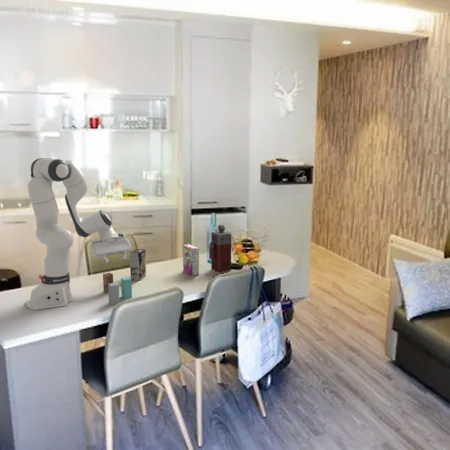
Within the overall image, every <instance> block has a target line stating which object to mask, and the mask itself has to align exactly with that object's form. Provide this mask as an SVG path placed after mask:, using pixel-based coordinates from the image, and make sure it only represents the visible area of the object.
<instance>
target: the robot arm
mask: <svg viewBox="0 0 450 450" xmlns="http://www.w3.org/2000/svg"><path fill="white" fill-rule="evenodd" d="M30 178H31V179H30V180H29V181H28V184H27V190H28V197H29V199H30V203H31V207H32V209H33V212H34V217H35V221H36V231H35V236H36V239H37V240H38V241H39V242H40V243H41V244H43V245H45V246H47V254H46V256H45V258H44V260H43V262H44V275H43V274H39V275H38V277H37V278H38V279H39V280H40V281H41V282H40V283H39V284H38V285H37V286H35V288H33V289H32V290H31V292H30V297H29V299H27V300H26V301H25V306H26V308H28V309H30V310H33V311H37V310H43V309H45V310H46V309H53V308H57V307H58V308H60V307H65V306H67V305H68V304H69V303H71V302H72V301H73V300H74V297H73V295H72V291H71V287H70V282H71V276H70V272H69V263H68V261H69V259H68V258H69V253H70V249H71V247H72V246H73V244H74V241H75V240H74V239H75V238H74V235H73V233H72V232H71V231H70V230H69V229H67V228H66V227H62V226H61V225H60V224H59V220H58V218H59V213H60V210H59V207H58V204H57V200H56V196H55V195H54V194H55V193H54V190H53V182H57V183H59V182H62V184H63V186H64V187H65V189H66V194H65V195H64V199H65V203H66V204H65V205H66V207H67V210H68V212H69V214H70V217H71V219H72V222H73V225H74V229H75V232H76V234H77V235H78V237H81V238H88V237H89V236H91V235H92V234H94V233H96V232H97V233H98V237H99V240H97V241H96V240H94V241H92V242H91V244H90V245H91V248H92V249H93V255H94V257H95V258H102V260H104V261H105V262H106V264H109V263H110V262H111V261H110V258H109V257H111V256H116V255H122V260H123V261H126V260H127V259H128V257H127V254H130V252H132V245H131V243H130V241H129V239H128V238H126V233H121V232H116V231H115V229H114V227H113V221H112V219H111V216H110V215H109V213H108V212H107V211H104V210H101V209H100V210H97V211H95V212H92V213H91V214H89V215H87V216H84V217H81V216H80V213H79V211H78V209H77V208H78V207H77V205H78V203H79V202H80V201H81V199H83V198H84V197H85V196H86V194H87V192H88V191H89V188H90V187H89V185H90V184H89V182H88V179H87V178H86V175H85V174H84V173H83V171H82V170H81V169H80V167H79V166H78V164H77V163H76V162H75V161H73V160H70V159H68V160H63V159H60V158H59V159H57V158H53V157H40V158H36V159H35V160H33V162H32V163H31V165H30ZM108 256H109V257H108Z"/></svg>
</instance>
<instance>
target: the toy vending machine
mask: <svg viewBox="0 0 450 450" xmlns="http://www.w3.org/2000/svg"><path fill="white" fill-rule="evenodd" d="M217 229H218V230H217V231H212V232H211V241H210V242H209V247H208V248H209V254H208V256H209V257H208V258H209V259H210V260H211V261H210V263H211V265H210V268H211V270H213V271H215V272H217V273H223V271H224V272H228V271H229V272H230V271H232V232H229V231H226V230H225V229H226V227H225V225H224V224H219V225H218V226H217Z"/></svg>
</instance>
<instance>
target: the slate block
mask: <svg viewBox="0 0 450 450" xmlns="http://www.w3.org/2000/svg"><path fill="white" fill-rule="evenodd" d="M108 292H109V294H108V303H109V304H110V305H111V306H115V304H116V305H118V304H117V303H119V302H120V284H118V283H117V282H113V283H111V284H108ZM120 303H121V302H120Z"/></svg>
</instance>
